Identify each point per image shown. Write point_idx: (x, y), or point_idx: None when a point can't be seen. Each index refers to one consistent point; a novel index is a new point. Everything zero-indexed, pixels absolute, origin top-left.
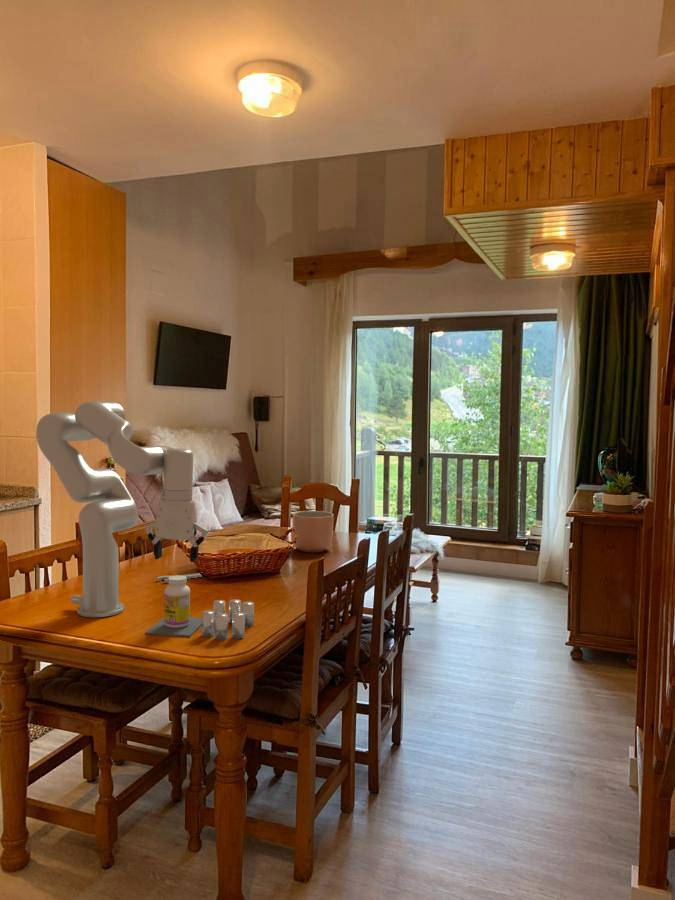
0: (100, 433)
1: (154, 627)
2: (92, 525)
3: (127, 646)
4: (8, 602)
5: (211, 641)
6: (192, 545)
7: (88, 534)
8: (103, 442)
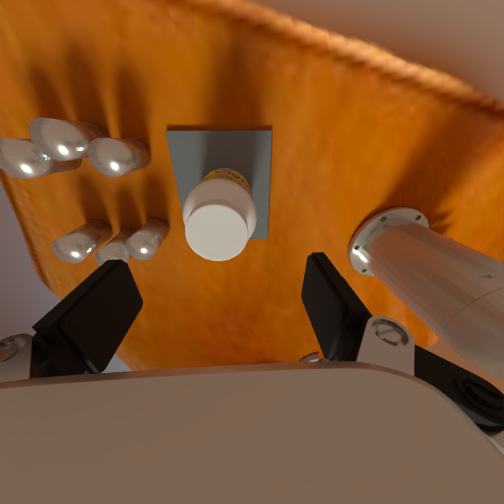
0: None
1: (263, 168)
2: None
3: (283, 18)
4: None
5: (102, 109)
6: (30, 345)
7: None
8: None
